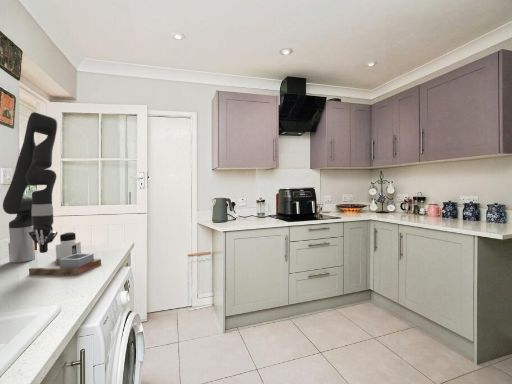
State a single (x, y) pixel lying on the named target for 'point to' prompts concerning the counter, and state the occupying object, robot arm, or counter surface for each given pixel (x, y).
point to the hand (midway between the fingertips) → (43, 252)
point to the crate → (76, 260)
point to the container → (67, 246)
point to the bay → (64, 269)
